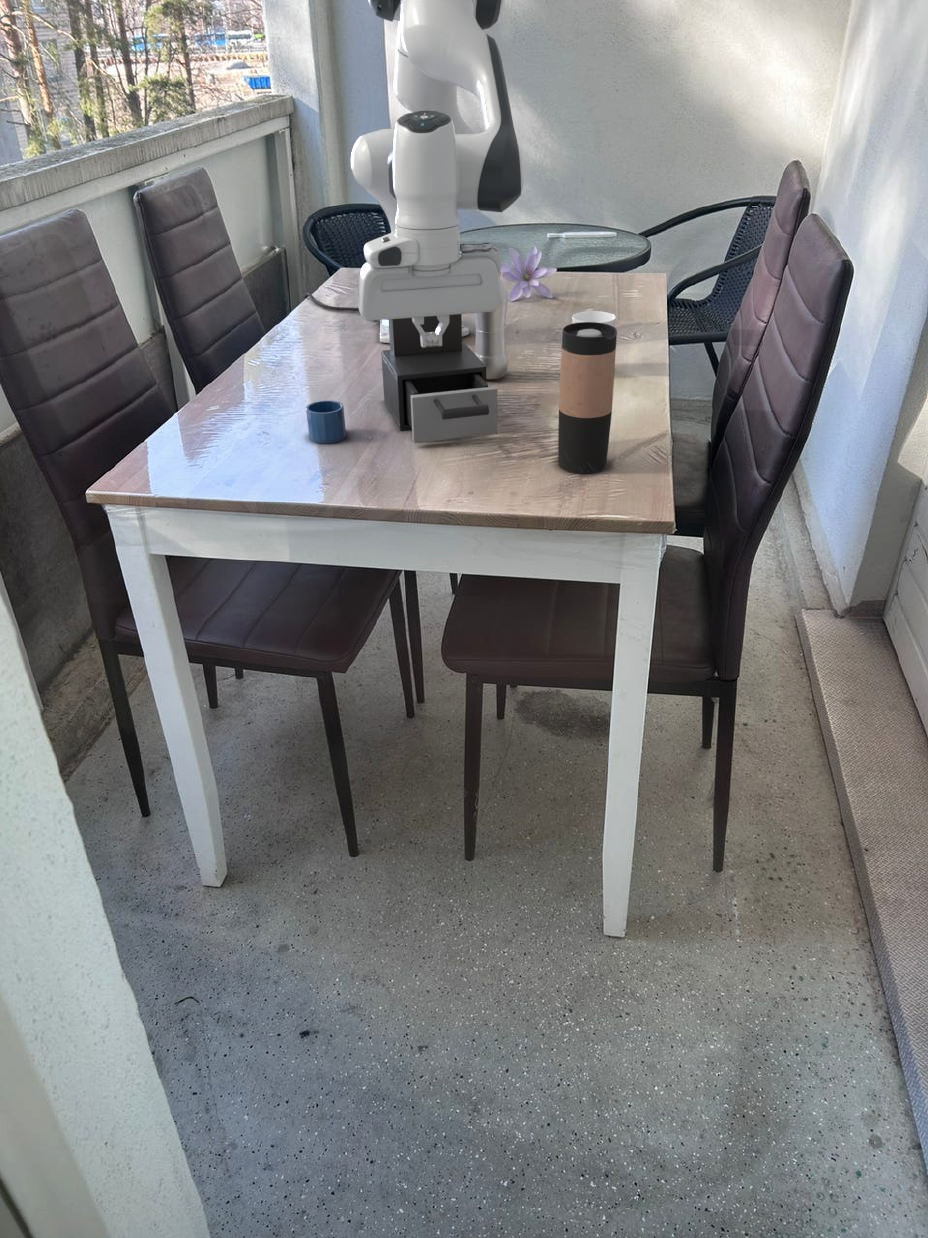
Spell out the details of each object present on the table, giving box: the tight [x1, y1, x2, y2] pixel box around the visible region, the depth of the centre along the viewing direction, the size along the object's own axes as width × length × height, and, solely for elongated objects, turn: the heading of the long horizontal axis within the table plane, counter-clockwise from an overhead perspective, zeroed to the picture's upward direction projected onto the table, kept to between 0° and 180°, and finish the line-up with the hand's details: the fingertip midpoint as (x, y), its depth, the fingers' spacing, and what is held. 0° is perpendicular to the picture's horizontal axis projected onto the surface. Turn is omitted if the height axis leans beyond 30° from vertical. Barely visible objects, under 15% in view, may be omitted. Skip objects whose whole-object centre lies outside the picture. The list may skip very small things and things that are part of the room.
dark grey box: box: [380, 342, 487, 431], centre depth 159 cm, size 14×15×9 cm
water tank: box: [388, 314, 463, 356], centre depth 157 cm, size 4×12×10 cm, turn 105°
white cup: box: [571, 310, 617, 328], centre depth 175 cm, size 8×8×10 cm
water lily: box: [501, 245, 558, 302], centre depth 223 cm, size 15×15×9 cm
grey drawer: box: [402, 372, 498, 444], centre depth 149 cm, size 19×13×7 cm
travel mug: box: [557, 322, 618, 475], centre depth 136 cm, size 8×8×20 cm
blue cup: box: [305, 400, 347, 445], centre depth 151 cm, size 6×6×5 cm
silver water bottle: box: [473, 269, 509, 380], centre depth 170 cm, size 6×7×20 cm
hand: (431, 345), depth 138 cm, fingers closed
